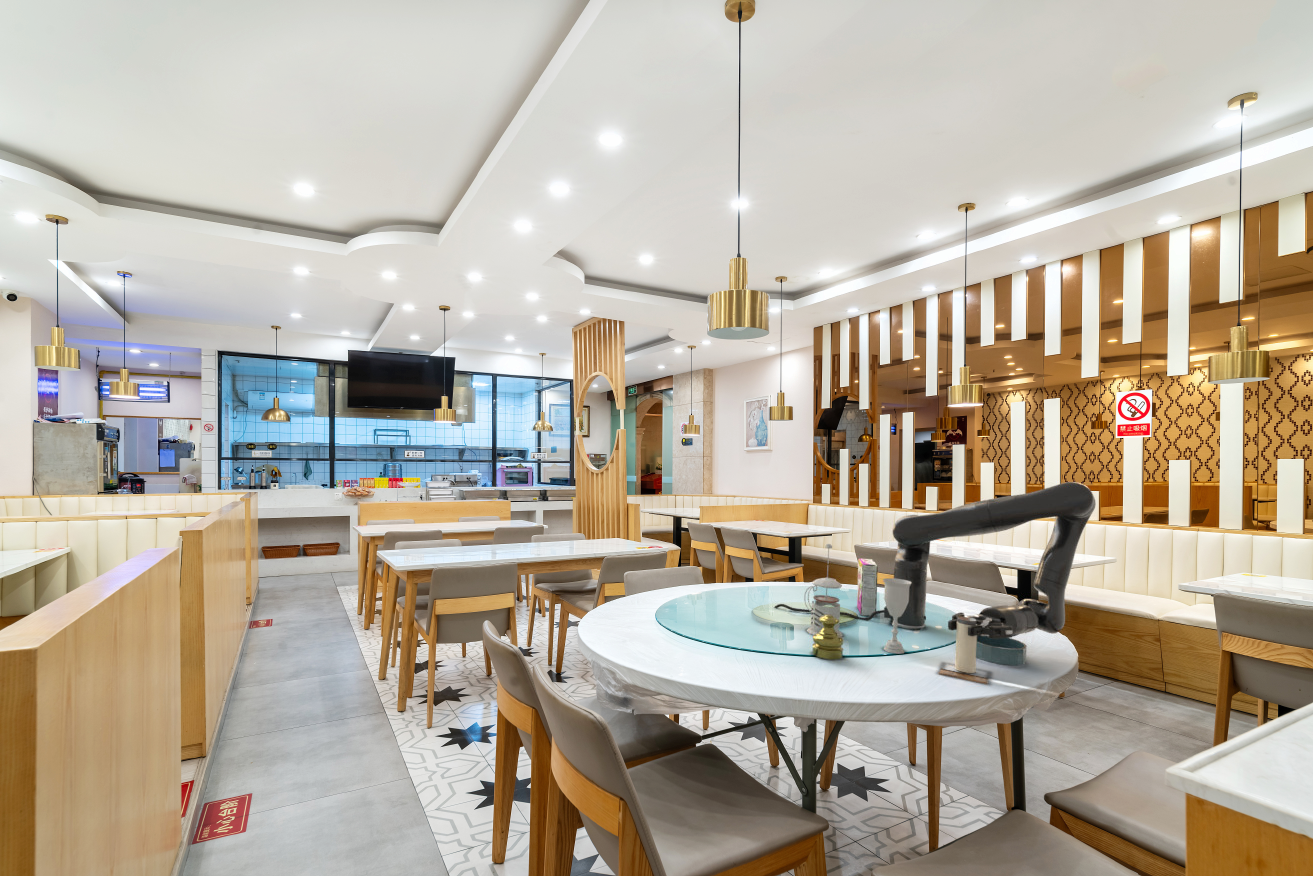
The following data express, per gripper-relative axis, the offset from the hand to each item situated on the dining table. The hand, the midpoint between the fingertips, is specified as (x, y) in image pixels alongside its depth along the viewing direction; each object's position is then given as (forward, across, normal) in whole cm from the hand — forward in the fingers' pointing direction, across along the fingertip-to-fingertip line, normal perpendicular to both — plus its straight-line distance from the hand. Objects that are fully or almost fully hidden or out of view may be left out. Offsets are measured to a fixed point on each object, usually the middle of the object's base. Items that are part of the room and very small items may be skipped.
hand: (959, 628), depth 145 cm
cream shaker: (-3, 0, +10) cm, 10 cm away
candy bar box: (-25, -50, +11) cm, 57 cm away
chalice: (0, -18, +11) cm, 21 cm away
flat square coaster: (-3, 0, +11) cm, 11 cm away
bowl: (-21, -4, +11) cm, 24 cm away
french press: (+6, -38, +11) cm, 40 cm away
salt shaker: (+20, -22, +11) cm, 31 cm away
